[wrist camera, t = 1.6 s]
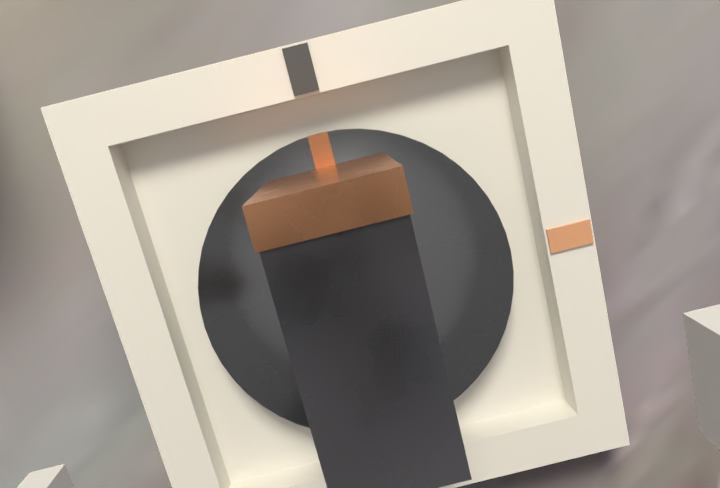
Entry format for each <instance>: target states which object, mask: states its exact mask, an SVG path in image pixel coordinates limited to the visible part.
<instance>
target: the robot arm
mask: <svg viewBox="0 0 720 488" xmlns="http://www.w3.org/2000/svg"><path fill="white" fill-rule="evenodd" d="M683 317H684V324H685V331H686V339H687V346H688V353H689V360H690V367H691V375H692V382H693V389H694V396H695V403H696V410H697V418H698V425H699V432H700V433H701V434H702V435H703V436H704V437H705V438H706V439H707V440H709V441H710V442H711V443H712V444H713V445H714V446H715V447H716V448H717V449H719V450H720V304H719V305H715V306H711V307H707V308H703V309H699V310H694V311H690V312H686V313H683ZM17 488H74V485H73V483H72V480H71V478H70V475H69V473H68V470H67V468H66V465H65V464H63V465H59V466H55V467H50V468H46V469H42V470H38V471H34V472H30V473H29V474H28V475H27V476H26V478H25V479H24V480H23V481H22V482H21V483H20V485H19V486H18V487H17Z"/></svg>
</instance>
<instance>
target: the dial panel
mask: <svg viewBox="0 0 720 488" xmlns="http://www.w3.org/2000/svg"><path fill="white" fill-rule="evenodd" d="M41 111H42V114H43V116H44V119H45V122H46V125H47V128H48V131H49V134H50V137H51V140H52V142H53V145H54V148H55V151H56V154H57V157H58V160H59V163H60V165H61V168H62V171H63V174H64V177H65V180H66V183H67V186H68V189H69V191H70V194H71V197H72V200H73V203H74V206H75V209H76V212H77V215H78V217H79V220H80V223H81V226H82V229H83V232H84V235H85V238H86V240H87V243H88V246H89V249H90V252H91V255H92V258H93V261H94V264H95V266H96V269H97V272H98V275H99V278H100V281H101V284H102V287H103V290H104V292H105V295H106V298H107V301H108V304H109V307H110V310H111V313H112V315H113V318H114V321H115V324H116V327H117V330H118V333H119V336H120V339H121V341H122V344H123V347H124V350H125V353H126V356H127V359H128V362H129V364H130V367H131V370H132V373H133V376H134V379H135V382H136V385H137V388H138V390H139V393H140V396H141V399H142V402H143V405H144V408H145V411H146V414H147V416H148V419H149V422H150V425H151V428H152V431H153V434H154V437H155V439H156V442H157V445H158V448H159V451H160V454H161V457H162V460H163V463H164V465H165V468H166V471H167V474H168V477H169V480H170V483H171V486H172V488H327V486H326V482H325V479H324V475H323V472H322V468H321V465H320V461H319V458H318V454H317V451H316V448H315V444H314V441H313V437H312V434H311V430H310V428H308V427H305V426H301V425H298V424H296V423H293V422H291V421H289V420H287V419H284V418H282V417H280V416H278V415H276V414H275V413H273V412H272V411H270V410H268V409H267V408H265V407H263V406H262V405H261V404H259V403H258V402H257V401H256V400H254V399H253V398H252V397H251V396H249V395H248V394H247V393H246V392H245V391H244V390H243V389H242V388H241V387H240V386H239V385H238V384H237V383H236V382H235V381H234V380H233V378H232V377H231V376H230V374H229V373H228V372H227V370H226V369H225V368H224V366H223V365H222V364H221V362H220V360H219V358H218V356H217V355H216V353H215V351H214V349H213V347H212V345H211V343H210V340H209V338H208V335H207V332H206V330H205V327H204V323H203V319H202V315H201V311H200V304H199V294H198V271H199V263H200V257H201V251H202V247H203V244H204V240H205V237H206V234H207V231H208V228H209V226H210V224H211V222H212V220H213V218H214V215H215V213H216V211H217V209H218V208H219V206H220V205H221V203H222V202H223V200H224V199H225V197H226V196H227V194H228V193H229V191H230V190H231V189H232V188H233V187H234V186H235V184H236V183H237V182H238V181H239V180H240V179H241V178H242V176H243V175H245V174H246V173H247V172H248V171H249V170H250V169H252V168H253V167H254V166H255V165H256V164H257V163H258V162H260V161H261V160H263V159H264V158H266V157H267V156H269V155H270V154H272V153H273V152H275V151H276V150H278V149H280V148H282V147H284V146H286V145H288V144H290V143H292V142H294V141H296V140H298V139H301V138H304V137H307V136H311V135H314V134H317V133H321V132H327V131H332V130H337V129H355V128H361V129H373V130H381V131H386V132H390V133H395V134H399V135H403V136H406V137H408V138H411V139H414V140H417V141H419V142H422V143H424V144H426V145H428V146H430V147H432V148H434V149H436V150H437V151H439V152H441V153H443V154H444V155H446V156H447V157H448V158H450V159H451V160H453V161H454V162H455V163H457V164H458V165H459V166H461V167H462V168H463V169H464V170H465V171H466V172H467V173H468V174H469V175H470V176H471V177H472V178H473V179H474V180H475V181H476V182H477V184H478V185H479V186H480V187H481V189H482V190H483V191H484V192H485V194H486V195H487V196H488V198H489V199H490V201H491V203H492V204H493V206H494V208H495V209H496V211H497V213H498V215H499V217H500V220H501V222H502V224H503V227H504V229H505V231H506V235H507V239H508V242H509V246H510V249H511V255H512V263H513V270H514V289H513V298H512V305H511V311H510V315H509V319H508V322H507V326H506V329H505V332H504V334H503V337H502V339H501V341H500V344H499V346H498V348H497V350H496V351H495V353H494V355H493V357H492V358H491V360H490V362H489V363H488V365H487V366H486V368H485V369H484V370H483V371H482V373H481V374H480V375H479V377H478V378H477V379H476V380H475V381H474V382H473V383H472V384H471V385H470V386H469V387H468V388H467V389H466V390H465V391H464V392H463V394H461V395H460V396H459V397H457V398H456V399H455V400H454V405H455V409H456V414H457V418H458V422H459V427H460V431H461V435H462V439H463V444H464V448H465V452H466V457H467V461H468V465H469V469H470V474H471V478H472V480H468V481H464V482H460V483H456V484H452V485H447V486H443V487H439V488H456V487H460V486H464V485H468V484H472V483H476V482H480V481H484V480H488V479H492V478H496V477H500V476H505V475H509V474H513V473H517V472H521V471H525V470H529V469H533V468H537V467H541V466H545V465H549V464H553V463H557V462H562V461H566V460H570V459H574V458H578V457H582V456H586V455H590V454H594V453H598V452H602V451H606V450H610V449H614V448H619V447H623V446H627V445H630V443H629V437H628V431H627V426H626V420H625V414H624V408H623V402H622V396H621V390H620V385H619V379H618V373H617V367H616V361H615V355H614V350H613V344H612V338H611V332H610V326H609V320H608V315H607V309H606V303H605V297H604V291H603V285H602V280H601V274H600V268H599V262H598V256H597V250H596V245H595V239H594V233H593V227H592V221H591V215H590V210H589V204H588V198H587V192H586V186H585V180H584V175H583V169H582V163H581V157H580V151H579V145H578V139H577V134H576V128H575V122H574V116H573V110H572V104H571V99H570V93H569V87H568V81H567V75H566V69H565V64H564V58H563V52H562V46H561V40H560V34H559V29H558V23H557V17H556V11H555V5H554V0H462V1H458V2H455V3H451V4H447V5H443V6H439V7H435V8H431V9H427V10H423V11H419V12H415V13H411V14H407V15H403V16H399V17H395V18H392V19H388V20H384V21H380V22H376V23H372V24H368V25H364V26H360V27H356V28H352V29H348V30H344V31H340V32H336V33H333V34H329V35H325V36H321V37H317V38H313V39H309V40H305V41H301V42H297V43H293V44H289V45H285V46H281V47H277V48H273V49H270V50H266V51H262V52H258V53H254V54H250V55H246V56H242V57H238V58H234V59H230V60H226V61H222V62H218V63H214V64H211V65H207V66H203V67H199V68H195V69H191V70H187V71H183V72H179V73H175V74H171V75H167V76H163V77H159V78H155V79H151V80H148V81H144V82H140V83H136V84H132V85H128V86H124V87H120V88H116V89H112V90H108V91H104V92H100V93H96V94H92V95H89V96H85V97H81V98H77V99H73V100H69V101H65V102H61V103H57V104H53V105H49V106H45V107H41Z"/></svg>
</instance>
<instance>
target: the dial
mask: <svg viewBox="0 0 720 488" xmlns="http://www.w3.org/2000/svg"><path fill="white" fill-rule="evenodd" d="M513 289H514V270H513V263H512V255H511V249H510V246H509V242H508V239H507V235H506V231H505V229H504V227H503V224H502V222H501V220H500V217H499V215H498V213H497V211H496V209H495V208H494V206H493V204H492V203H491V201H490V199H489V198H488V196H487V195H486V194H485V192H484V191H483V190H482V189H481V187H480V186H479V185H478V184H477V182H476V181H475V180H474V179H473V178H472V177H471V176H470V175H469V174H468V173H467V172H466V171H465V170H464V169H463V168H462V167H461V166H459V165H458V164H457V163H455V162H454V161H453V160H451V159H450V158H448V157H447V156H446V155H444V154H443V153H441V152H439V151H437V150H436V149H434V148H432V147H430V146H428V145H426V144H424V143H422V142H419V141H417V140H414V139H411V138H408V137H406V136H403V135H399V134H395V133H390V132H386V131H381V130H373V129H361V128H355V129H337V130H332V131H327V132H321V133H317V134H314V135H311V136H307V137H304V138H301V139H298V140H296V141H294V142H292V143H290V144H288V145H286V146H284V147H282V148H280V149H278V150H276V151H275V152H273V153H272V154H270V155H269V156H267V157H266V158H264V159H263V160H261V161H260V162H258V163H257V164H256V165H255V166H254V167H253V168H252V169H250V170H249V171H248V172H247V173H246V174H245V175H243V176H242V178H241V179H240V180H239V181H238V182H237V183H236V184H235V186H234V187H233V188H232V189H231V190H230V191H229V193H228V194H227V196H226V197H225V199H224V200H223V202H222V203H221V205H220V206H219V208H218V209H217V211H216V213H215V215H214V218H213V220H212V222H211V224H210V226H209V228H208V231H207V234H206V237H205V240H204V244H203V247H202V251H201V257H200V263H199V271H198V294H199V304H200V311H201V315H202V319H203V323H204V327H205V330H206V332H207V335H208V338H209V340H210V343H211V345H212V347H213V349H214V351H215V353H216V355H217V356H218V358H219V360H220V362H221V364H222V365H223V366H224V368H225V369H226V370H227V372H228V373H229V374H230V376H231V377H232V378H233V380H234V381H235V382H236V383H237V384H238V385H239V386H240V387H241V388H242V389H243V390H244V391H245V392H246V393H247V394H248V395H249V396H251V397H252V398H253V399H254V400H256V401H257V402H258V403H259V404H261V405H262V406H263V407H265V408H267V409H268V410H270V411H272V412H273V413H275V414H276V415H278V416H280V417H282V418H284V419H287V420H289V421H291V422H293V423H296V424H298V425H301V426H305V427H308V428H310V430H311V434H312V437H313V441H314V444H315V448H316V451H317V454H318V458H319V461H320V465H321V468H322V472H323V475H324V479H325V482H326V486H327V488H439V487H443V486H447V485H452V484H456V483H460V482H464V481H468V480H472V478H471V474H470V469H469V465H468V461H467V457H466V452H465V448H464V444H463V439H462V435H461V431H460V427H459V422H458V418H457V414H456V409H455V405H454V400H455V399H456V398H457V397H459V396H460V395H461V394H463V392H464V391H465V390H466V389H467V388H468V387H469V386H470V385H471V384H472V383H473V382H474V381H475V380H476V379H477V378H478V377H479V375H480V374H481V373H482V371H483V370H484V369H485V368H486V366H487V365H488V363H489V362H490V360H491V358H492V357H493V355H494V353H495V351H496V350H497V348H498V346H499V344H500V341H501V339H502V337H503V334H504V332H505V329H506V326H507V322H508V319H509V315H510V311H511V305H512V298H513Z"/></svg>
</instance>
